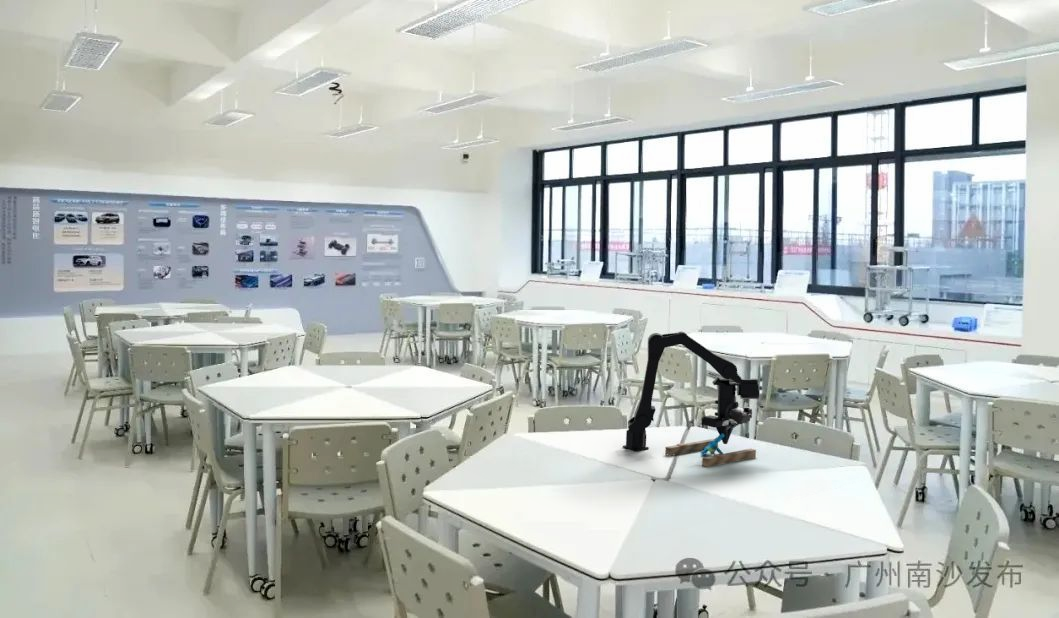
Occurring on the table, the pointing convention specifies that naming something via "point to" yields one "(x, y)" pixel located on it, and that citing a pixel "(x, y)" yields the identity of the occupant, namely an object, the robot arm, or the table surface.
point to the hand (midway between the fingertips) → (725, 443)
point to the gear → (713, 446)
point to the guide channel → (711, 459)
